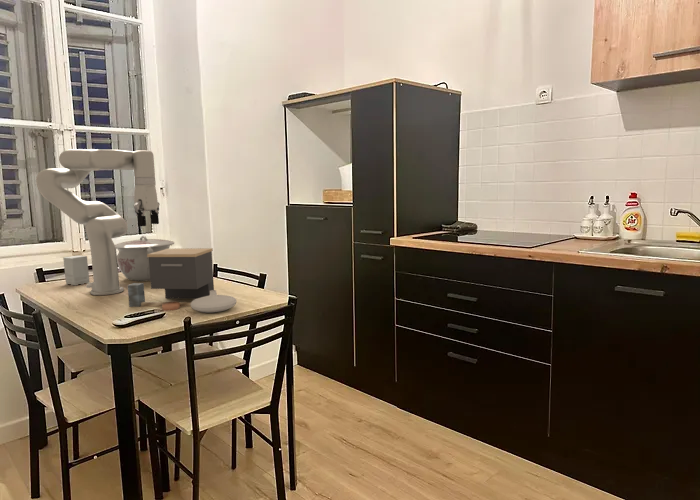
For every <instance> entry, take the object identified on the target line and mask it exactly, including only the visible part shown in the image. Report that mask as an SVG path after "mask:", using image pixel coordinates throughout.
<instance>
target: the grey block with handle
mask: <svg viewBox="0 0 700 500" xmlns="http://www.w3.org/2000/svg"><path fill="white" fill-rule="evenodd" d="M144 285H145V284H144V282H141V283H140V282H133V283H130V284H127V294H128V306H129V307H130V308H133V307H136V308H140V307H162V304H163V303H166V302H167V301H146V299H145V295H146V294H145V286H144ZM178 302H179V301H178ZM191 302H192V301H190V302H189V301H187V302H186V301H184V302H183V301H180V302H179V303H180V307H191V305H190V304H191Z"/></svg>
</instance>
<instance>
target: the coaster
mask: <svg viewBox="0 0 700 500" xmlns="http://www.w3.org/2000/svg"><path fill="white" fill-rule="evenodd" d="M165 302H166V303H163V304H162V306H161V310H162V311H165V312H167V311H168V312H170V311H177V310H179V309H180V308H181V306H180V303H179V301H165Z"/></svg>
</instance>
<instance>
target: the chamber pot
mask: <svg viewBox="0 0 700 500" xmlns="http://www.w3.org/2000/svg"><path fill="white" fill-rule="evenodd" d="M174 244H175V241H172V240H168V239H157V238H147V237H146V235H141V236H140V238H139V239H133V240H127V241H122V242H118V243H116V244H114V245H115V247H116V250H118V251H117V252H118V253H117V264H118V270H119V271H120V272H121V274H122V275H123V276H124V277H125V278H126V279H127V280H130V281H133V282H148V281H150V269H149V257H147V254H150V253H154V252H157V251H161V250H165V249H170V247H171V246H173V245H174Z"/></svg>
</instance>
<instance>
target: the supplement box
mask: <svg viewBox="0 0 700 500" xmlns="http://www.w3.org/2000/svg"><path fill="white" fill-rule="evenodd" d="M63 268H64V277H65V284H66V285H68V284H71V285H70V286H78V284H81V285H85V284H84V283H86V284H87V283H89V282H90V272H89V263H88V256H87V255H72V256H71V255H70V256H65V257H63Z"/></svg>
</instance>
